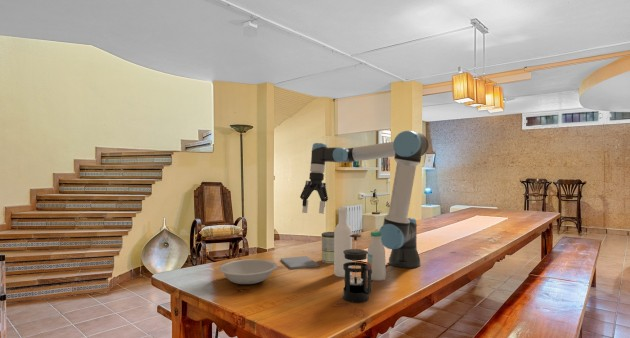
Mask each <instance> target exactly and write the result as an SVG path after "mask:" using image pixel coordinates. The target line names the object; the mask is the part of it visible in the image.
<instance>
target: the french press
mask: <svg viewBox="0 0 630 338" xmlns="http://www.w3.org/2000/svg"><path fill="white" fill-rule="evenodd" d="M350 237H352V238H353V240H354V248H352V249H348V250H344V251H343V253H344V257H345V259H348V260H352V262H348V263H345V264H343V269H344V270H345V277H344V279H343V281H344V287H343V289H342V290H343V291H342V292H343V293H342V299H343V300H344V301H346V302H348V303H352V304H353V303H355V304H356V303H357V304H360V303H365V302H368V301H369V299H370V298H369V295H370V294H372V280H371V269H370V268H368V265H367V263H366V262H359V261H364V260H367V254H368V252H367V251H368V250H365V249H360V248H357V241H358V240H357V238H361V237H362V235H360V234H352V235H350ZM348 266H352V268H348ZM353 266H355V267H354V268H353ZM357 266H359V267H360V268H359V267H358V268H357ZM367 271H368V277H367ZM350 272H352V273H354V276H350ZM357 273H360V277H359V276H357Z"/></svg>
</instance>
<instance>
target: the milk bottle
mask: <svg viewBox="0 0 630 338" xmlns="http://www.w3.org/2000/svg"><path fill="white" fill-rule="evenodd" d="M381 236H382V233H381V232H379V230H378V231H377V230H373V231H371V232H370V237H371V239H370V242H369V244H368V247H367V250H366V251H367V252H368V254H367V258H366V260H367V261H366V264H367V265H368V268H370V269H371V281H375V282H377V281H378V282H379V281H380V282H381V281H384V280H385V279H386V271H387V270H386V249H385V246H383V244H382V241H381ZM367 278H368V271H367Z"/></svg>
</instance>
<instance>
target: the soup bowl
mask: <svg viewBox="0 0 630 338" xmlns="http://www.w3.org/2000/svg"><path fill="white" fill-rule="evenodd" d="M277 268H278V263H276V262H275V261H272V260H270V259H269V260H268V259H263V258H262V259H260V258H247V259H238V260H231V261H229V262H225V263H223V264H222V265H221V264H220V266H219V267H218V271H219V273H222V274H223V276H224V277H225V278H226V279H227V280H229V281H230V282H232V283H234V284H237V285H238V284H239V285H253V284H258V283H261V282H264V281H265V280H267V279H268V278H269V277H270V276H271V275H272V273H273V272H274V270H276V269H277Z"/></svg>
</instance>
